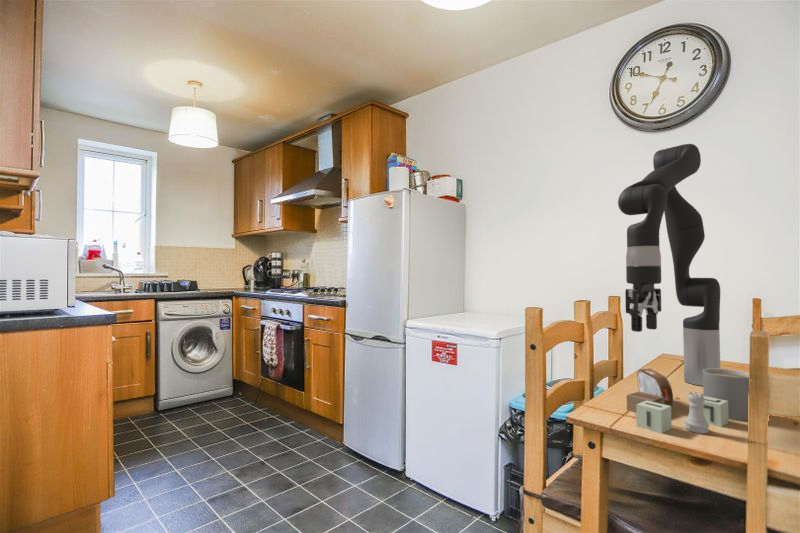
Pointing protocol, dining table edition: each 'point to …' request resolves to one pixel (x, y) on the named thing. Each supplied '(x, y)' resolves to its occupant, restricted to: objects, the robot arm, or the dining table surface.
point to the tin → (655, 384)
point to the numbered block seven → (715, 411)
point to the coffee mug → (728, 390)
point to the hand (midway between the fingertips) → (644, 330)
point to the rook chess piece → (696, 414)
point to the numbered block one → (653, 416)
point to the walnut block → (642, 400)
